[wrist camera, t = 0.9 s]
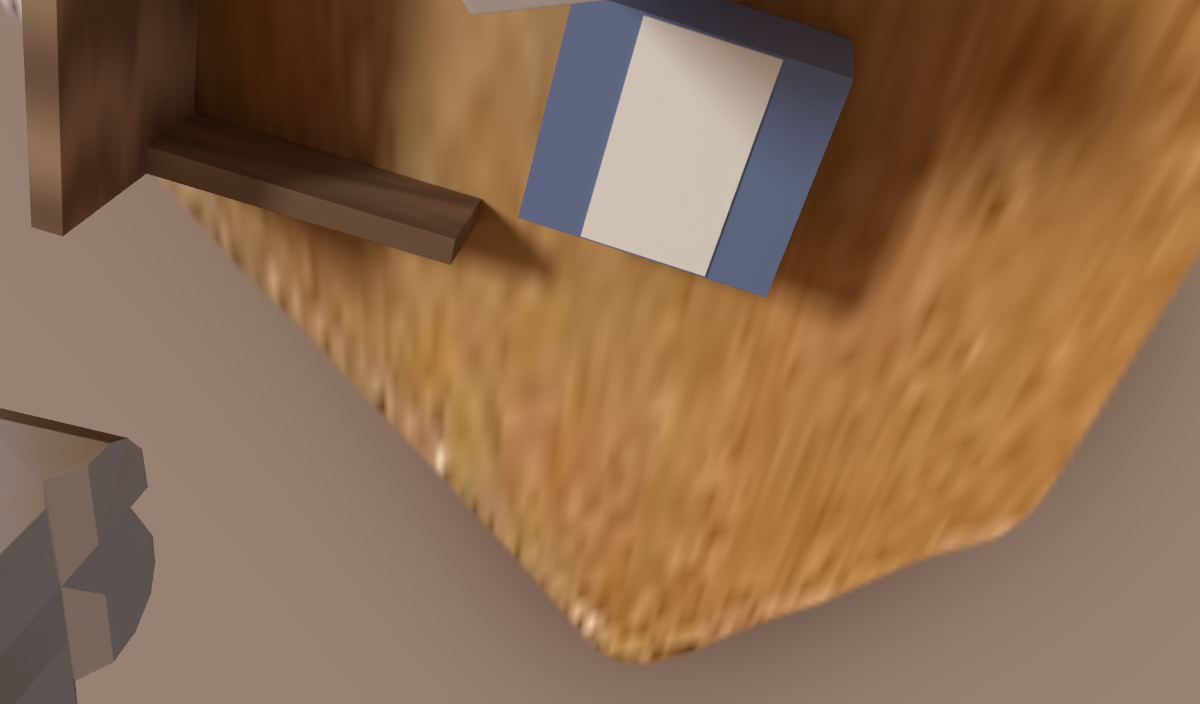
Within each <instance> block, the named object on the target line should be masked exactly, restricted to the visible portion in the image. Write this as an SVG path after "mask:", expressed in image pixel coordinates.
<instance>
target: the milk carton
mask: <svg viewBox="0 0 1200 704" xmlns="http://www.w3.org/2000/svg"><path fill="white" fill-rule="evenodd" d="M462 1H463V2H464V4H465V6H466V8H467V9H468V11H469V13H470V14H488V13H498V12H507V11H516V10H524V9H533V8H542V7H550V6H559V5H567V4H576V3H585V2H593V1H602V0H462Z"/></svg>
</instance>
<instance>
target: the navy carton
mask: <svg viewBox="0 0 1200 704" xmlns="http://www.w3.org/2000/svg"><path fill="white" fill-rule="evenodd" d="M853 81H854V63H853V40H851V39H848V38H845V37H842V36H839V35H836V34H833V33H829V32H826V31H823V30H820V29H817V28H814V27H811V26H808V25H804V24H801V23H798V22H795V21H792V20H789V19H786V18H783V17H780V16H776V15H773V14H770V13H767V12H764V11H761V10H758V9H755V8H751V7H748V6H745V5H742V4H739V3H736V2H733V1H730V0H602V1H593V2H585V3H576V4H572V5H571V9H570V13H569V17H568V21H567V25H566V29H565V33H564V37H563V41H562V45H561V49H560V53H559V57H558V61H557V65H556V69H555V73H554V77H553V81H552V85H551V89H550V93H549V97H548V101H547V105H546V109H545V113H544V117H543V121H542V125H541V129H540V133H539V137H538V141H537V145H536V149H535V153H534V157H533V161H532V165H531V170H530V174H529V178H528V182H527V186H526V190H525V194H524V198H523V202H522V206H521V210H520V214H519V218H522V219H525V220H528V221H531V222H534V223H537V224H540V225H543V226H546V227H550V228H553V229H556V230H559V231H562V232H565V233H568V234H571V235H574V236H577V237H580V238H584V239H587V240H590V241H593V242H596V243H599V244H602V245H605V246H608V247H611V248H615V249H618V250H621V251H624V252H627V253H630V254H633V255H636V256H639V257H642V258H646V259H649V260H652V261H655V262H658V263H661V264H664V265H667V266H670V267H673V268H676V269H680V270H683V271H686V272H689V273H692V274H695V275H698V276H701V277H704V278H707V279H711V280H714V281H717V282H720V283H723V284H726V285H729V286H732V287H735V288H738V289H742V290H745V291H748V292H751V293H754V294H757V295H760V296H763V297H767V294H768V292H769V289H770V287H771V284H772V282H773V279H774V277H775V274H776V272H777V269H778V267H779V265H780V262H781V260H782V257H783V255H784V252H785V250H786V247H787V245H788V242H789V240H790V237H791V235H792V232H793V230H794V227H795V225H796V222H797V220H798V217H799V215H800V212H801V210H802V207H803V205H804V203H805V200H806V198H807V195H808V193H809V190H810V188H811V185H812V183H813V180H814V178H815V175H816V173H817V170H818V168H819V165H820V163H821V160H822V158H823V155H824V153H825V150H826V148H827V145H828V143H829V140H830V138H831V136H832V133H833V131H834V128H835V126H836V123H837V121H838V118H839V116H840V113H841V111H842V108H843V106H844V103H845V101H846V98H847V96H848V93H849V91H850V88H851V86H852V83H853Z"/></svg>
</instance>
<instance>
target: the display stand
mask: <svg viewBox="0 0 1200 704" xmlns="http://www.w3.org/2000/svg"><path fill="white" fill-rule="evenodd" d="M21 1H22V23H23V46H24V68H25V90H26V111H27V112H26V113H27V135H28V157H29V180H30V200H31V201H30V203H31V224H32V227H34V228H37V229H40V230H44V231H47V232H50V233H54V234H57V235H60V236H64V235H65V234H66V233H68V232H69V231H70V230H72V229H73V228H74V227H76V226H77V225H78V224H80V223H81V222H82V221H84V220H85V219H86V218H88V217H89V216H90V215H92V214H93V213H94V212H96V211H97V210H98V209H100V208H101V207H102V206H104V205H105V204H106V203H108V202H109V201H110V200H111V199H113V198H114V197H115V196H117V195H118V194H120V193H121V192H122V191H124V190H125V189H126V188H128V187H129V186H130V185H131V184H133V183H134V182H136V181H137V180H138V179H140V178H141V177H142V176H144V174H146V173H147V174H150V175H154V176H157V177H160V178H164V179H167V180H170V181H174V182H177V183H180V184H184V185H187V186H190V187H194V188H197V189H200V190H204V191H207V192H210V193H214V194H217V195H220V196H223V197H227V198H230V199H233V200H237V201H240V202H243V203H247V204H250V205H253V206H257V207H260V208H263V209H267V210H270V211H273V212H277V213H280V214H283V215H287V216H290V217H293V218H297V219H300V220H303V221H307V222H310V223H313V224H316V225H320V226H323V227H326V228H330V229H333V230H336V231H340V232H343V233H346V234H350V235H353V236H356V237H360V238H363V239H366V240H370V241H373V242H376V243H380V244H383V245H386V246H390V247H393V248H396V249H400V250H403V251H406V252H409V253H413V254H416V255H419V256H423V257H426V258H429V259H433V260H436V261H439V262H443V263H446V264H449V265H451V263H452V261H453V260H454V258H455V257H456V255H457V253H458V252H459V250H460V249H461V247H462V246H463V244H464V242H465V241H466V239H467V238H468V236H469V234H470V233H471V231H472V230H473V228H474V227H475V225H476V223H477V218H478V213H479V208H480V203H481V199H479V198H475V197H472V196H469V195H465V194H462V193H459V192H455V191H452V190H449V189H445V188H442V187H439V186H435V185H432V184H429V183H425V182H422V181H419V180H415V179H412V178H409V177H405V176H402V175H399V174H395V173H392V172H389V171H385V170H382V169H379V168H375V167H372V166H369V165H365V164H362V163H359V162H355V161H352V160H349V159H345V158H342V157H339V156H335V155H332V154H329V153H325V152H322V151H319V150H315V149H312V148H309V147H305V146H302V145H299V144H295V143H292V142H288V141H285V140H282V139H278V138H275V137H272V136H268V135H265V134H262V133H258V132H255V131H252V130H248V129H245V128H242V127H238V126H235V125H232V124H228V123H225V122H222V121H218V120H215V119H212V118H208V117H205V116H202V115H198V114H195V113H194V101H195V77H196V53H197V30H198V6H199V0H21Z"/></svg>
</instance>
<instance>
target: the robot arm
mask: <svg viewBox="0 0 1200 704" xmlns="http://www.w3.org/2000/svg"><path fill="white" fill-rule="evenodd" d="M147 487H148V486H147V479H146V472H145V465H144V459H143V452H142V449H141V448H140V447H138V446H137V445H136V444H134V443H133V442H132V441H131V440H129V439H128V438H125V437H121V436H116V435H112V434H108V433H104V432H99V431H95V430H91V429H86V428H83V427H78V426H74V425H70V424H65V423H61V422H57V421H53V420H48V419H44V418H40V417H35V416H31V415H27V414H23V413H18V412H14V411H10V410H6V409H1V408H0V704H77V695H76V686H75V681H76V680H78V679H79V678H82V677H84V676H86V675H88V674H90V673H92V672H94V671H96V670H98V669H100V668H102V667H104V666H106V665H108V664H110V663H113V662H114V661H115V660H116V658H117V657H118V655H119V654H120V652H121V651H122V650H123V648H124V647H125V646H126V644H127V643H128V641H129V640H130V639H131V637H132V636H133V634H134V633H135V632H136V629H137V627H138V624H139V622H140V619H141V617H142V614H143V612H144V609H145V607H146V604H147V602H148V599H149V597H150V594H151V589H152V581H153V574H154V566H155V557H154V545H153V536H152V534H151V533H150V532H149V531H148V529H147V528H146V527H145V525H144V524H143V523H142V522H141V520H140V519H139V518H138V517H137V515H136V514H135V513H134V512H133V510H132V509H131V508H130V507H131V506H132V505H133V504H134V502H135V501H136V500H137V499H138V498H139V497H140V496H141V494H142V493H143V492H144V491H145V489H147Z"/></svg>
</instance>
